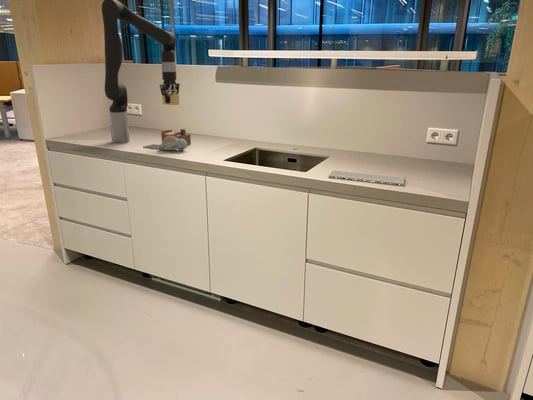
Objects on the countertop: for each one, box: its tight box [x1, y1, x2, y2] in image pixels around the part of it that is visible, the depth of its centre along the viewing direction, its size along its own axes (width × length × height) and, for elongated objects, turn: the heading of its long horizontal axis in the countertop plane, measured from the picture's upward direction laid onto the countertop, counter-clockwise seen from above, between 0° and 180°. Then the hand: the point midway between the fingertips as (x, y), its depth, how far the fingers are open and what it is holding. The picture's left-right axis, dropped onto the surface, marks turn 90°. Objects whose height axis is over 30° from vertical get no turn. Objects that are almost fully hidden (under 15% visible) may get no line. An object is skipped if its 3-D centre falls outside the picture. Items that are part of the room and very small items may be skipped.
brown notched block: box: [161, 128, 192, 146], centre depth 233 cm, size 15×8×9 cm, turn 60°
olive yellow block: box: [161, 92, 180, 106], centre depth 227 cm, size 8×5×7 cm, turn 60°
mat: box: [143, 143, 161, 150], centre depth 226 cm, size 10×8×1 cm
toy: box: [157, 136, 188, 152], centre depth 218 cm, size 12×10×15 cm
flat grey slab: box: [328, 170, 406, 186], centre depth 175 cm, size 31×3×12 cm
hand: (170, 102), depth 228 cm, fingers closed on olive yellow block, 4 cm apart
